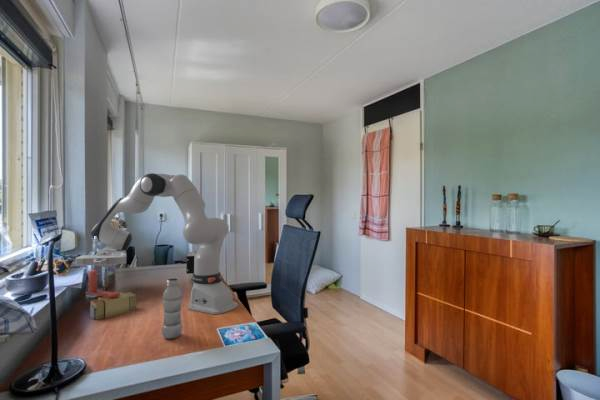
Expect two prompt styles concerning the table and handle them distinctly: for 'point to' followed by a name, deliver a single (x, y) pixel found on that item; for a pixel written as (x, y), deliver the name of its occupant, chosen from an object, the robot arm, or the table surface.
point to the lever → (94, 286)
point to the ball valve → (190, 264)
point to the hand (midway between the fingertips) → (97, 263)
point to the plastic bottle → (172, 310)
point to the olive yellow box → (112, 305)
